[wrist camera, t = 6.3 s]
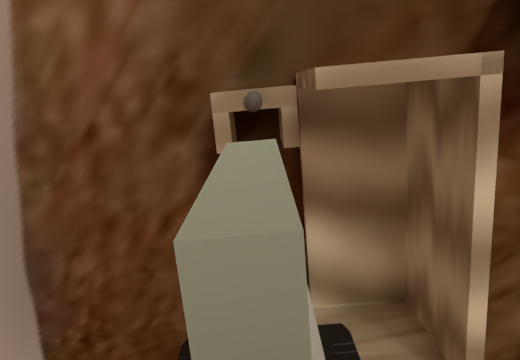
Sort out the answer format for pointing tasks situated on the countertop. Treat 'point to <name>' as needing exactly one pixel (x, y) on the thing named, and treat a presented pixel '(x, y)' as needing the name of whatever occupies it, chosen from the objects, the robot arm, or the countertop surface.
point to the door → (245, 261)
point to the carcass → (393, 195)
